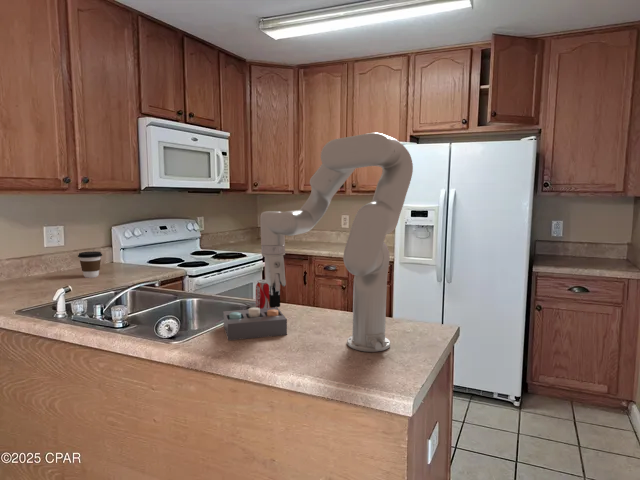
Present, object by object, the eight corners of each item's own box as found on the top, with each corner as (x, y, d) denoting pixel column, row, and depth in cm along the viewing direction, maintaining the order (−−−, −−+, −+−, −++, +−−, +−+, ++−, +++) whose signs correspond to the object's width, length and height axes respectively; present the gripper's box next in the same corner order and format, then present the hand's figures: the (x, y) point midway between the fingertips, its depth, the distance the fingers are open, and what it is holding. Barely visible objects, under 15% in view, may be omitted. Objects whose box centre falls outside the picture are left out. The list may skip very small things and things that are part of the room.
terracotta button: (279, 320, 140) (279, 311, 140) (268, 321, 139) (268, 312, 139) (277, 316, 144) (277, 309, 144) (266, 317, 143) (266, 309, 142)
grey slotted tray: (286, 334, 136) (286, 319, 136) (228, 340, 131) (227, 324, 130) (277, 321, 150) (277, 307, 149) (223, 326, 144) (223, 311, 144)
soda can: (271, 316, 155) (271, 283, 154) (252, 315, 157) (252, 282, 155) (277, 311, 162) (277, 279, 161) (259, 310, 163) (259, 278, 162)
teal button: (241, 323, 137) (241, 314, 137) (230, 324, 136) (230, 315, 135) (240, 319, 140) (240, 311, 140) (228, 320, 139) (228, 312, 139)
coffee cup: (88, 274, 226) (87, 251, 225) (108, 274, 225) (106, 251, 223) (73, 278, 216) (72, 254, 214) (94, 279, 214) (93, 254, 213)
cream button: (260, 318, 139) (260, 310, 138) (249, 319, 137) (249, 311, 137) (258, 315, 142) (258, 307, 142) (247, 316, 141) (247, 308, 141)
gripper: (290, 252, 133) (291, 311, 135) (279, 246, 147) (281, 300, 149) (266, 253, 131) (267, 313, 133) (257, 248, 145) (259, 302, 147)
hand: (274, 306), depth 141 cm, fingers closed
